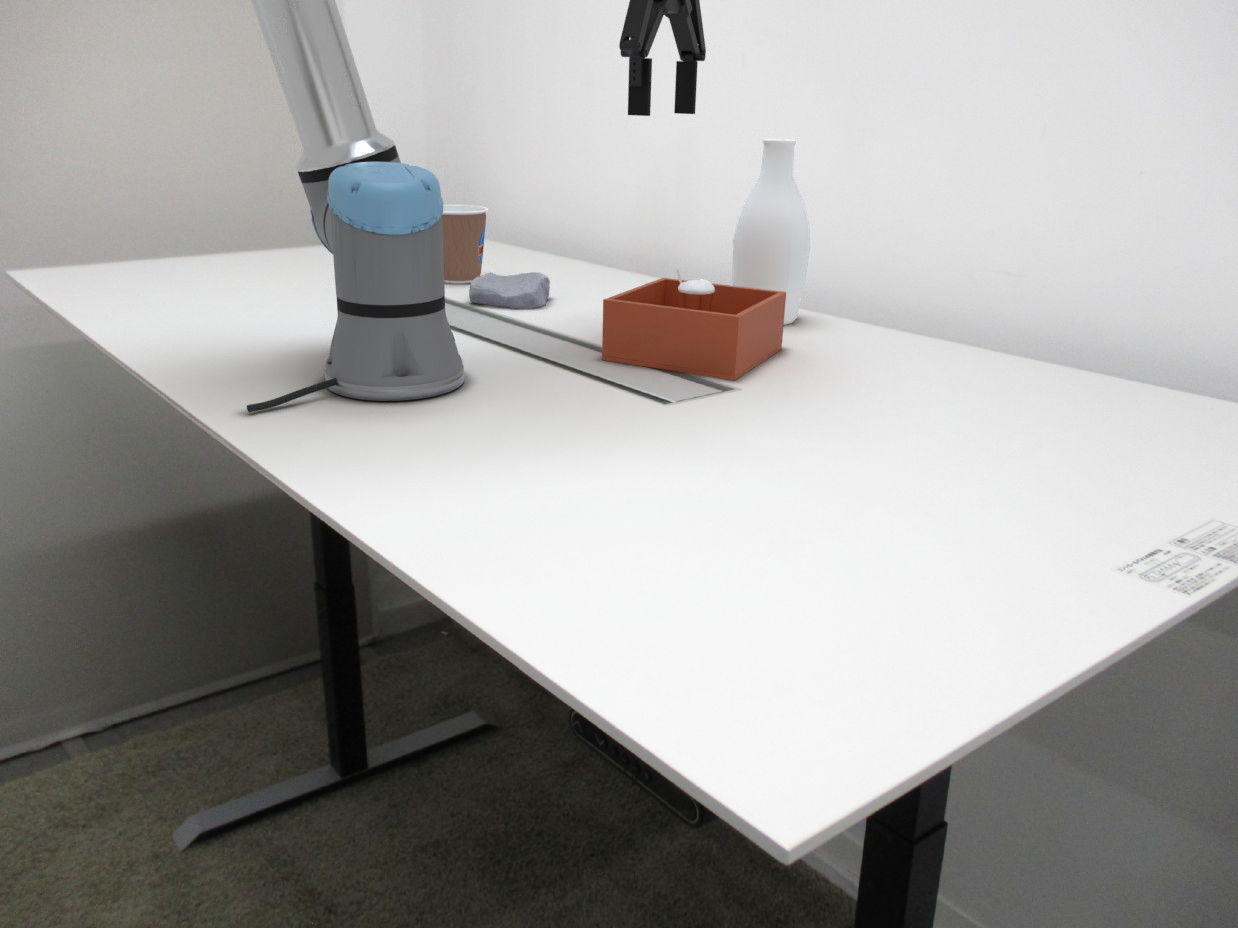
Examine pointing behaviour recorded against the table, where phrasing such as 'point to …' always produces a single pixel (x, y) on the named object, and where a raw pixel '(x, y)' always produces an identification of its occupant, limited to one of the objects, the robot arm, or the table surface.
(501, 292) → the stone block
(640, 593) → the table surface
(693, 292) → the milkshake
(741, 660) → the table surface
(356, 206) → the robot arm
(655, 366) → the bin
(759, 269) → the bottle
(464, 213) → the coffee cup
